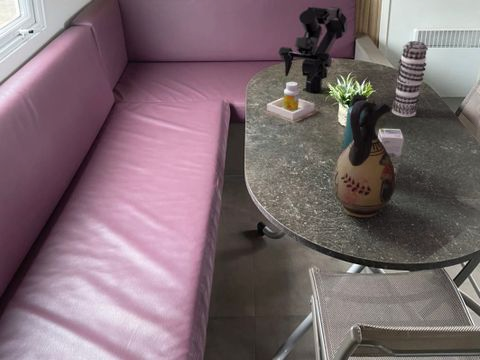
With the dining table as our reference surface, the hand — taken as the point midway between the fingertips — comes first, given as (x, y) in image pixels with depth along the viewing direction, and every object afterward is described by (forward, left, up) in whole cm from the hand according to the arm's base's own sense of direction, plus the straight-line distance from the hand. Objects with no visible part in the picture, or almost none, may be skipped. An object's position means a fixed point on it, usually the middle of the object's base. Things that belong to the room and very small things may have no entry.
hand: (298, 78), depth 180 cm
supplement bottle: (+5, +1, -10) cm, 12 cm away
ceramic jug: (+40, +53, -11) cm, 67 cm away
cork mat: (+5, +2, -11) cm, 12 cm away
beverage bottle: (+18, +37, -11) cm, 43 cm away
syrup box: (+22, +50, -11) cm, 56 cm away
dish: (+5, +2, -11) cm, 12 cm away
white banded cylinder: (-24, +31, -11) cm, 40 cm away
